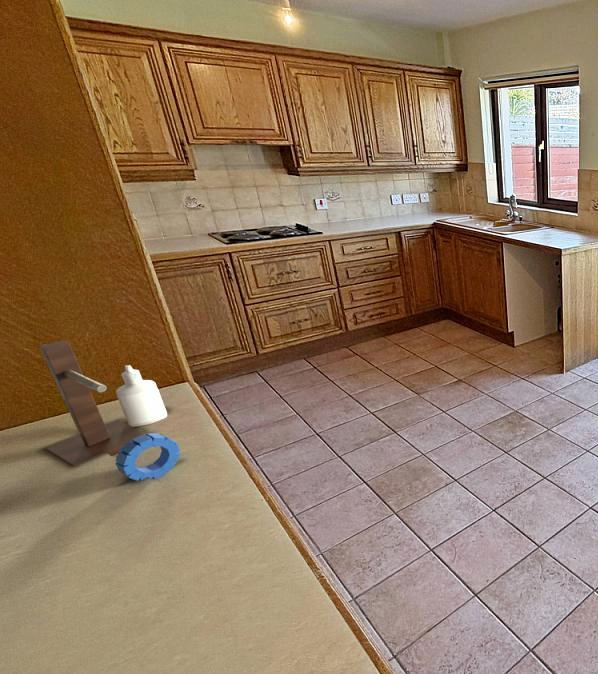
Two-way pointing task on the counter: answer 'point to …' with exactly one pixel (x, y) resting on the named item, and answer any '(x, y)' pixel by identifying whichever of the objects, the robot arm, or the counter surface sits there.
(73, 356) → the hook stand
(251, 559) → the counter surface
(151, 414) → the eye dropper bottle
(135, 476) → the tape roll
